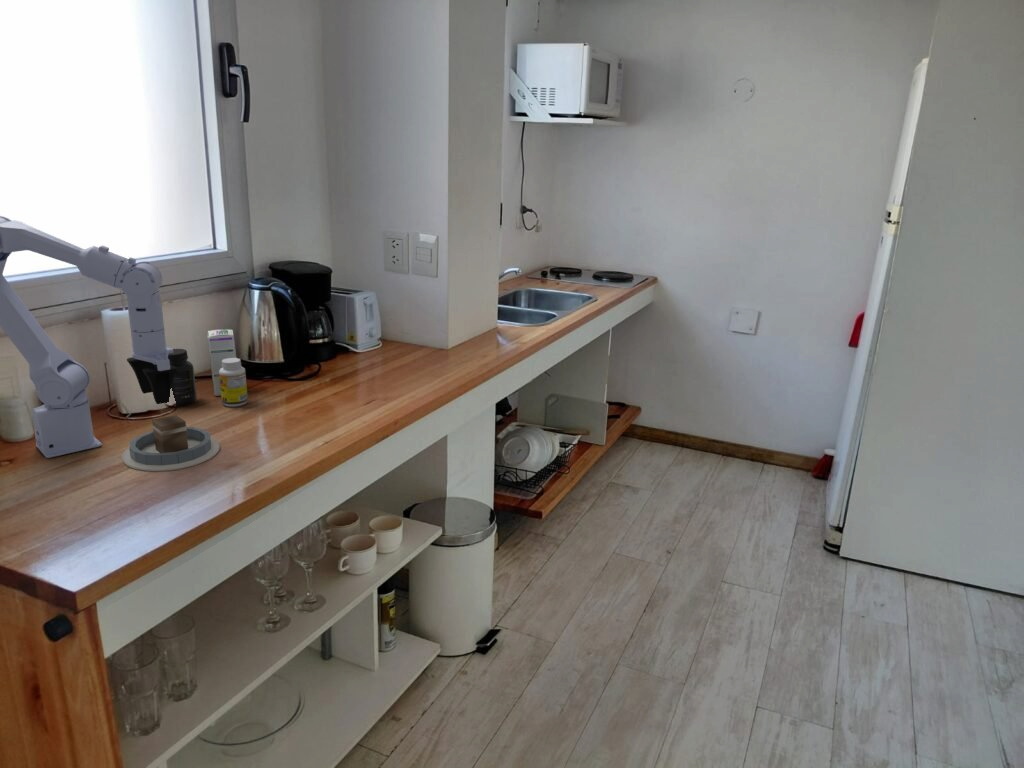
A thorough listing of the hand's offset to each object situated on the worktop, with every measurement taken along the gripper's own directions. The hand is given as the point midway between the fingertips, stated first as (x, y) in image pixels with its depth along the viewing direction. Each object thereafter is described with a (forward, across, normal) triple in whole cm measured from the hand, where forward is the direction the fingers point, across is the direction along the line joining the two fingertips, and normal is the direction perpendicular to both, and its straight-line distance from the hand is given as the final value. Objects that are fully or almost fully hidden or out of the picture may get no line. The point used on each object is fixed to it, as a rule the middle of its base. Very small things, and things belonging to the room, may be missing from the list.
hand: (155, 397), depth 146 cm
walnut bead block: (+9, -6, 0) cm, 11 cm away
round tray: (+9, -6, 0) cm, 11 cm away
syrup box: (+10, +22, -22) cm, 33 cm away
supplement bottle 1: (+10, +21, -12) cm, 26 cm away
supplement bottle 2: (+10, +13, -21) cm, 26 cm away
